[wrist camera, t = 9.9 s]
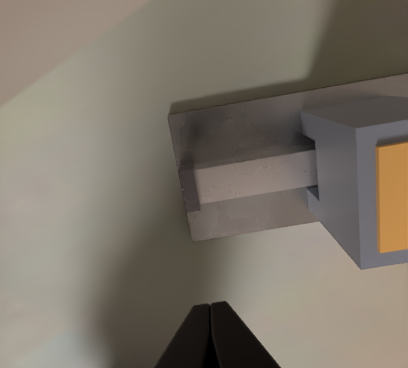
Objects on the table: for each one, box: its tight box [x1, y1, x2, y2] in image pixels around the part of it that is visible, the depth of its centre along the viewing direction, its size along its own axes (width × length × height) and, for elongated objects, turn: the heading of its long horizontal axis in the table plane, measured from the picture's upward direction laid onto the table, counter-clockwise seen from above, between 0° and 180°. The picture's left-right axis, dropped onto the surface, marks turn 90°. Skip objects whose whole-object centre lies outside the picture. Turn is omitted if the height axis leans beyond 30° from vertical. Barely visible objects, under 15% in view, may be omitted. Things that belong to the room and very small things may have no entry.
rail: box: [167, 73, 408, 242], centre depth 19 cm, size 8×20×3 cm, turn 100°
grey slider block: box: [301, 96, 408, 270], centre depth 16 cm, size 6×5×7 cm
